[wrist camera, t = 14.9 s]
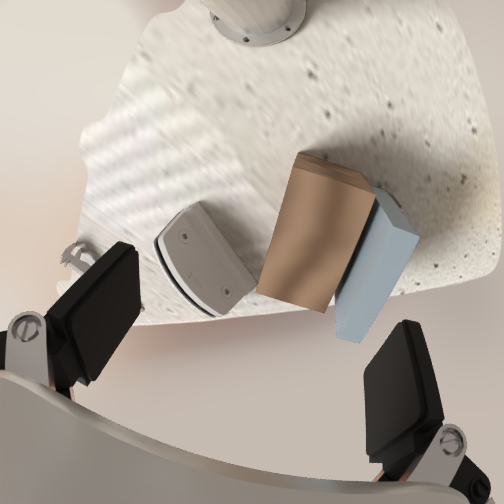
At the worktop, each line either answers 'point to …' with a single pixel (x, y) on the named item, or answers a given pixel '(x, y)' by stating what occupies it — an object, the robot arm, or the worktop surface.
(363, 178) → the cabinet
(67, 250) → the caliper
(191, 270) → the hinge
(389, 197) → the door
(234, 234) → the worktop surface
